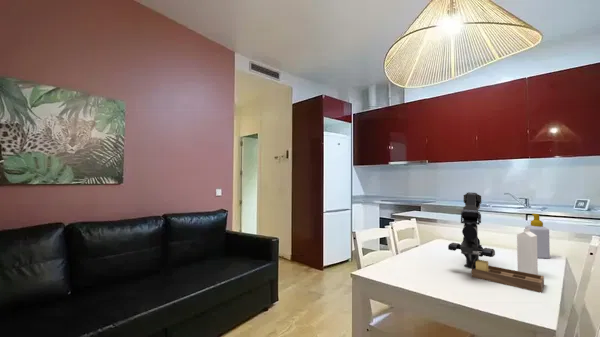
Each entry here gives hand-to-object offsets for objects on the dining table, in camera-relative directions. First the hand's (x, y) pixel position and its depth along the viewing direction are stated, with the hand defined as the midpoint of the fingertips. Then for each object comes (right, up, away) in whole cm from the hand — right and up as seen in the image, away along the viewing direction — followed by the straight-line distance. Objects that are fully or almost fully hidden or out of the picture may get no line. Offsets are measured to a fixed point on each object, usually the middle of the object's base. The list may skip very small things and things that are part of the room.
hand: (470, 267), depth 136 cm
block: (+3, -1, -3) cm, 5 cm away
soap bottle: (+59, -5, +32) cm, 67 cm away
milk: (+29, -4, +2) cm, 29 cm away
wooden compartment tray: (+11, -3, -8) cm, 14 cm away
